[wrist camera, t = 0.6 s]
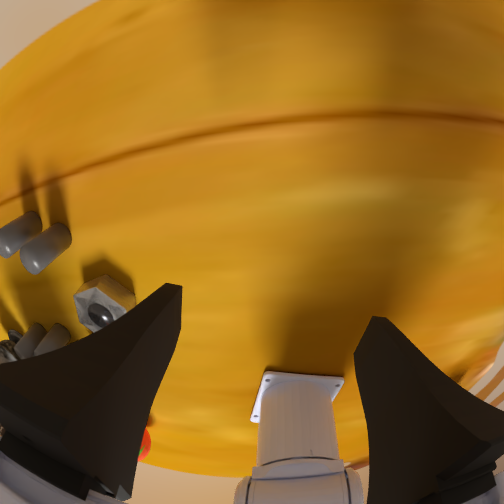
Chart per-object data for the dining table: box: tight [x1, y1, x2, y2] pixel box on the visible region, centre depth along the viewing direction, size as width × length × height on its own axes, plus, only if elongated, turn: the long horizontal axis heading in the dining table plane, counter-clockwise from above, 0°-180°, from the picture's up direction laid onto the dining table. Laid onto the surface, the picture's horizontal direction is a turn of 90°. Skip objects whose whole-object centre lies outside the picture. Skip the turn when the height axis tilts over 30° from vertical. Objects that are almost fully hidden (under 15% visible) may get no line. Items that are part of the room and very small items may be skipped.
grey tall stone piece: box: [0, 330, 35, 364], centre depth 23 cm, size 6×6×12 cm
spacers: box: [0, 211, 72, 359], centre depth 21 cm, size 16×17×4 cm
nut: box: [73, 274, 136, 332], centre depth 22 cm, size 6×5×2 cm
